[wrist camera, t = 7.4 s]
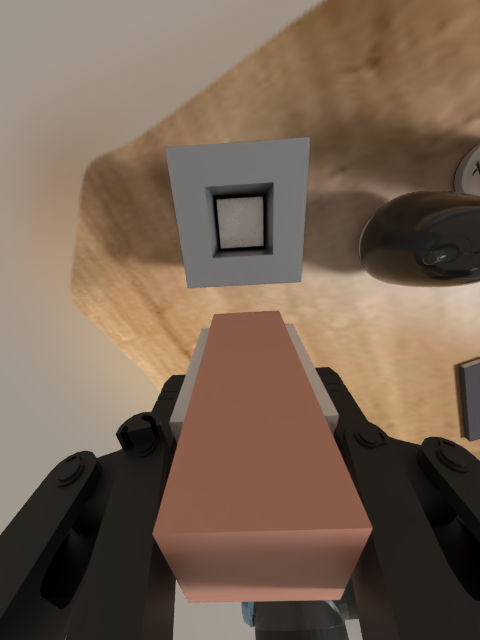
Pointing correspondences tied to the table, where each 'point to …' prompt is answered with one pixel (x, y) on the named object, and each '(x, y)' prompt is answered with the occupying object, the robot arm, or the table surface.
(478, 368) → the notebook
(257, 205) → the recessed square insert
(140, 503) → the robot arm
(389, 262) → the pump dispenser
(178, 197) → the socket block
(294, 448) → the peg
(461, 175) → the travel mug
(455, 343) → the table surface
